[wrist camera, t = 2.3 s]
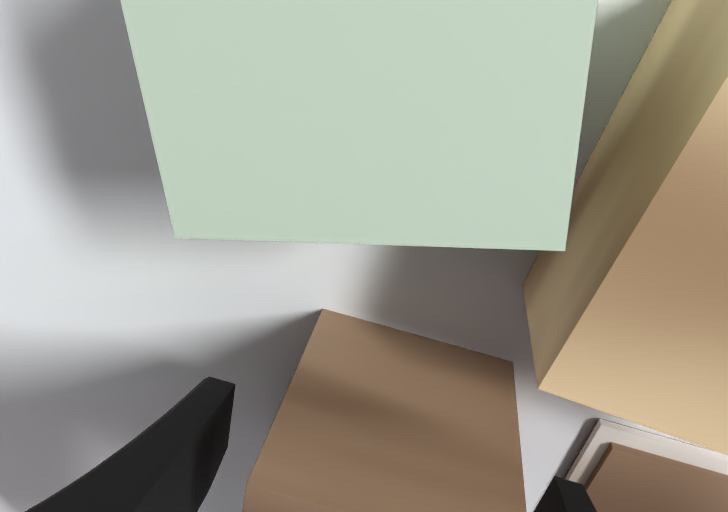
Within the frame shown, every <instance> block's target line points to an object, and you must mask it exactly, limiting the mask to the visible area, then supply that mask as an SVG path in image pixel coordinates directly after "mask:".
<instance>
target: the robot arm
mask: <svg viewBox="0 0 728 512" xmlns="http://www.w3.org/2000/svg"><path fill="white" fill-rule="evenodd" d="M234 391H235V384H233V383H230V382H226V381H223V380H219V379H216V378H212V377H208V378H205V379H204V380H203V381H202V382H200V383H199V384H198V385H197V386H196V387H195V388H194V389H193V390H192V391H191V392H190V393H189V394H187V395H186V396H185V397H184V398H183V399H182V400H181V401H180V402H178V403H177V404H176V405H175V406H174V407H173V408H171V409H170V410H169V411H168V412H167V413H166V414H164V415H163V416H162V417H161V418H160V419H158V420H157V421H156V422H155V423H153V424H152V425H151V426H150V427H148V428H147V429H146V430H145V431H143V432H142V433H141V434H140V435H138V436H137V437H136V438H135V439H133V440H132V441H131V442H129V443H128V444H127V445H125V446H124V447H123V448H121V449H120V450H119V451H117V452H116V453H114V454H113V455H112V456H110V457H109V458H107V459H106V460H105V461H103V462H102V463H101V464H99V465H98V466H96V467H95V468H94V469H92V470H91V471H89V472H88V473H86V474H85V475H83V476H82V477H80V478H79V479H77V480H76V481H74V482H73V483H71V484H70V485H68V486H67V487H65V488H63V489H62V490H60V491H59V492H57V493H55V494H54V495H52V496H51V497H49V498H47V499H46V500H44V501H42V502H41V503H39V504H37V505H35V506H34V507H32V508H30V509H28V510H27V511H25V512H197V511H198V509H199V507H200V505H201V504H202V502H203V500H204V498H205V496H206V495H207V493H208V491H209V489H210V487H211V484H212V482H213V480H214V477H215V475H216V473H217V471H218V468H219V466H220V464H221V461H222V459H223V456H224V454H225V452H226V449H227V447H228V439H229V431H230V423H231V415H232V407H233V399H234ZM534 512H597V511H596V509H595V507H594V505H593V503H592V501H591V499H590V497H589V495H588V494H587V492H586V490H585V488H584V486H583V484H580V483H577V482H573V481H570V480H566V479H563V478H559V477H556V476H554V478H553V480H552V481H551V483H550V485H549V487H548V488H547V490H546V492H545V494H544V495H543V497H542V499H541V501H540V502H539V504H538V506H537V507H536V509H535V511H534Z"/></svg>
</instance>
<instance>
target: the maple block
mask: <svg viewBox="0 0 728 512" xmlns="http://www.w3.org/2000/svg"><path fill="white" fill-rule="evenodd" d="M523 290H524V297H525V304H526V311H527V318H528V325H529V333H530V340H531V347H532V354H533V361H534V368H535V375H536V382H537V389H539V390H542V391H545V392H548V393H551V394H553V395H556V396H559V397H562V398H565V399H568V400H571V401H574V402H576V403H579V404H582V405H585V406H588V407H591V408H594V409H596V410H599V411H602V412H605V413H608V414H611V415H614V416H616V417H619V418H622V419H625V420H628V421H631V422H634V423H637V424H639V425H642V426H645V427H648V428H651V429H654V430H657V431H659V432H662V433H665V434H668V435H671V436H674V437H677V438H679V439H682V440H685V441H688V442H691V443H694V444H697V445H700V446H702V447H705V448H708V449H711V450H714V451H717V452H720V453H722V454H725V455H728V0H672V1H671V3H670V5H669V6H668V8H667V10H666V12H665V14H664V16H663V18H662V20H661V22H660V24H659V26H658V27H657V29H656V31H655V33H654V35H653V37H652V39H651V41H650V43H649V45H648V47H647V48H646V50H645V52H644V54H643V56H642V58H641V60H640V62H639V64H638V66H637V68H636V69H635V71H634V73H633V75H632V77H631V79H630V81H629V83H628V85H627V87H626V89H625V90H624V92H623V94H622V96H621V98H620V100H619V102H618V104H617V106H616V108H615V110H614V111H613V113H612V115H611V117H610V119H609V121H608V123H607V125H606V127H605V129H604V131H603V132H602V134H601V136H600V138H599V140H598V142H597V144H596V146H595V148H594V150H593V152H592V154H591V155H590V157H589V159H588V161H587V163H586V165H585V167H584V169H583V171H582V173H581V175H580V176H579V178H578V180H577V182H576V184H575V186H574V188H573V194H572V202H571V209H570V217H569V225H568V232H567V240H566V248H565V251H548V250H541V251H540V253H539V255H538V257H537V259H536V260H535V262H534V264H533V266H532V268H531V270H530V272H529V274H528V276H527V278H526V280H525V281H524V283H523Z"/></svg>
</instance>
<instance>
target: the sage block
mask: <svg viewBox="0 0 728 512" xmlns="http://www.w3.org/2000/svg"><path fill="white" fill-rule="evenodd" d="M120 2H121V6H122V10H123V15H124V19H125V23H126V28H127V32H128V36H129V41H130V45H131V50H132V54H133V58H134V63H135V67H136V71H137V76H138V80H139V84H140V89H141V93H142V97H143V102H144V106H145V110H146V115H147V119H148V123H149V128H150V132H151V136H152V141H153V145H154V149H155V154H156V158H157V162H158V167H159V171H160V176H161V180H162V184H163V189H164V193H165V197H166V202H167V206H168V210H169V215H170V219H171V223H172V228H173V232H174V236H175V238H189V239H219V240H249V241H279V242H308V243H338V244H368V245H398V246H428V247H458V248H488V249H518V250H548V251H565V248H566V240H567V232H568V225H569V217H570V209H571V202H572V194H573V186H574V179H575V171H576V163H577V156H578V148H579V141H580V133H581V125H582V118H583V110H584V102H585V95H586V87H587V79H588V72H589V64H590V56H591V49H592V41H593V33H594V26H595V18H596V10H597V3H598V0H120Z"/></svg>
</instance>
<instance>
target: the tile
mask: <svg viewBox="0 0 728 512" xmlns="http://www.w3.org/2000/svg"><path fill="white" fill-rule="evenodd" d="M564 479H566V480H570V481H573V482H577V483H580V484H583V486H584V488H585V490H586V492H587V494H588V495H589V497H590V499H591V501H592V503H593V505H594V507H595V509H596V511H597V512H728V455H725V454H722V453H719V452H715V451H712V450H708V449H705V448H701V447H698V446H694V445H691V444H687V443H683V442H680V441H676V440H673V439H669V438H666V437H662V436H659V435H655V434H652V433H648V432H645V431H641V430H638V429H634V428H631V427H627V426H624V425H620V424H616V423H613V422H609V421H606V420H602V419H599V421H598V422H597V424H596V426H595V427H594V429H593V431H592V433H591V434H590V436H589V438H588V439H587V441H586V443H585V444H584V446H583V448H582V450H581V451H580V453H579V455H578V456H577V458H576V460H575V461H574V463H573V465H572V467H571V468H570V470H569V472H568V473H567V475H566V477H565V478H564Z"/></svg>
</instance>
